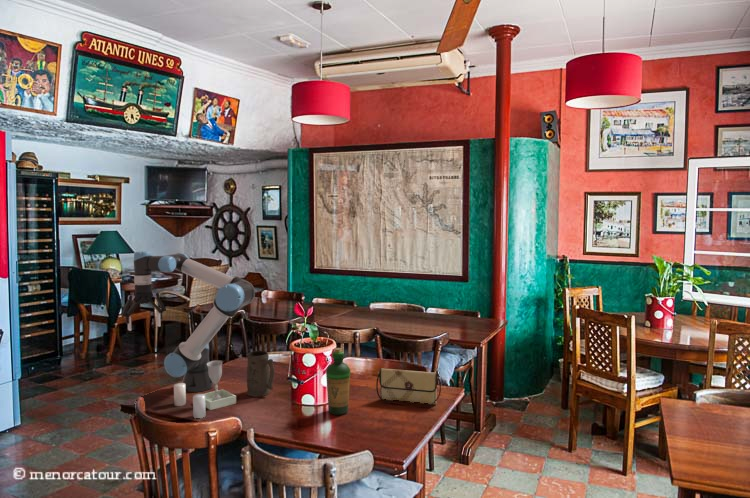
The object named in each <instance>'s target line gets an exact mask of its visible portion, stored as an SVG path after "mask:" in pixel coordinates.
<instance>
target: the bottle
mask: <svg viewBox="0 0 750 498" xmlns="http://www.w3.org/2000/svg"><path fill="white" fill-rule="evenodd" d="M331 358H332V363H331V364H329V365H328V366H327V367H326V369H325V375H326V388H327V389H326V390H327V406H328V413H329V414H332V415H336V416H342V415H345V414H347V413H348V412H349V402H350V400H349V399H350V383H351V368H350V367H349V365H348V364H347V363H345V362H344V358H345V353H344V351H343V348H342V347H335V348H334V350H333V351H332V353H331Z"/></svg>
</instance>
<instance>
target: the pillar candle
mask: <svg viewBox="0 0 750 498" xmlns="http://www.w3.org/2000/svg"><path fill="white" fill-rule="evenodd" d="M192 408H193V409H192V412H193V413H192V416H193V417H194V419H196V418H200V419H204V418H205V417H206V415H207V413H206V409H207V408H206V407H205V393H196V394H194V395H192ZM203 417H204V418H203Z"/></svg>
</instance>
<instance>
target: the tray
mask: <svg viewBox="0 0 750 498" xmlns="http://www.w3.org/2000/svg"><path fill="white" fill-rule="evenodd" d="M204 394H205V409H208V410H209V411H212V410H215V409H221V408H224V407H227V406H231V405H235V404H237V395H235V394H233V393H232V392H230V391H227V390H226V389H223V388H222V389H218V394H219V395H220V396H221V397H222V399H219V400H215V401H212V398H213V396H214V395H215V394H216V393H215V390H213V391H210V392H205V393H204Z"/></svg>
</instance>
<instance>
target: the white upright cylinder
mask: <svg viewBox="0 0 750 498" xmlns="http://www.w3.org/2000/svg"><path fill="white" fill-rule="evenodd" d="M186 393H187V392H186V384H185V383H182V382H178V383H175V384H173V402H174V403H173V405H174V406H175V407H182V406H186V404H187V394H186Z"/></svg>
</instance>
